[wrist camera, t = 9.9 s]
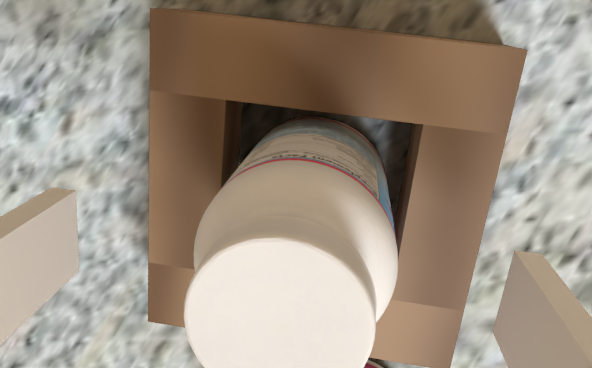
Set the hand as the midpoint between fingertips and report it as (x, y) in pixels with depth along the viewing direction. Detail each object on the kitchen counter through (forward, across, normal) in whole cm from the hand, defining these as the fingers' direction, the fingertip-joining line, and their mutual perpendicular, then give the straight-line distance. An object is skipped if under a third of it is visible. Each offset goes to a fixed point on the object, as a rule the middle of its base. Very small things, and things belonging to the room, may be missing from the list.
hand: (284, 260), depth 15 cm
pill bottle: (+8, 0, 0) cm, 8 cm away
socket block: (+8, 0, 0) cm, 8 cm away
